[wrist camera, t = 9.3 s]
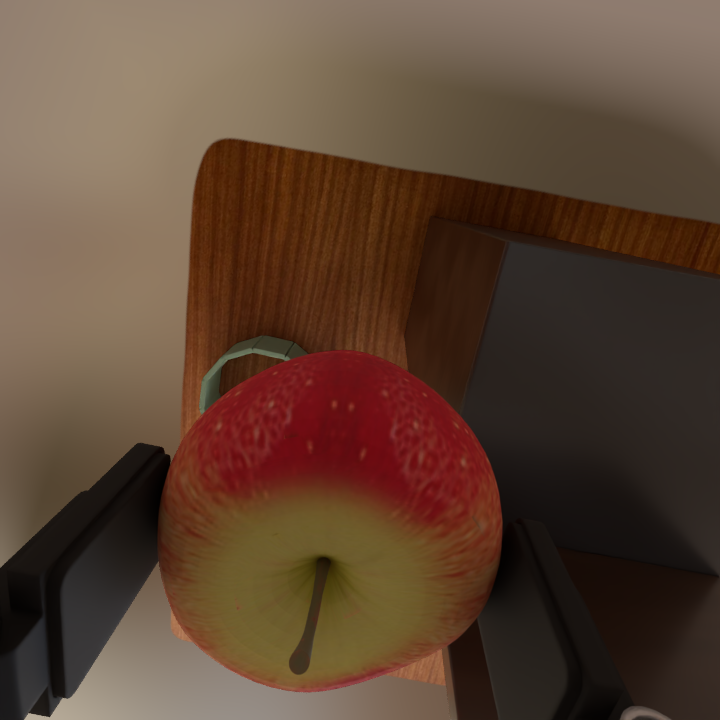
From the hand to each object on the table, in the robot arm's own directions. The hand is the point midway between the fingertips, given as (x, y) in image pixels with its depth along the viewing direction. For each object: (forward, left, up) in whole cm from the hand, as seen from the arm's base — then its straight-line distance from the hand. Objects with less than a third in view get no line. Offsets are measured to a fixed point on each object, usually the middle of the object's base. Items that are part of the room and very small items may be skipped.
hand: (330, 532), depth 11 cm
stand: (+5, +10, -43) cm, 44 cm away
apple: (0, 0, -6) cm, 6 cm away
